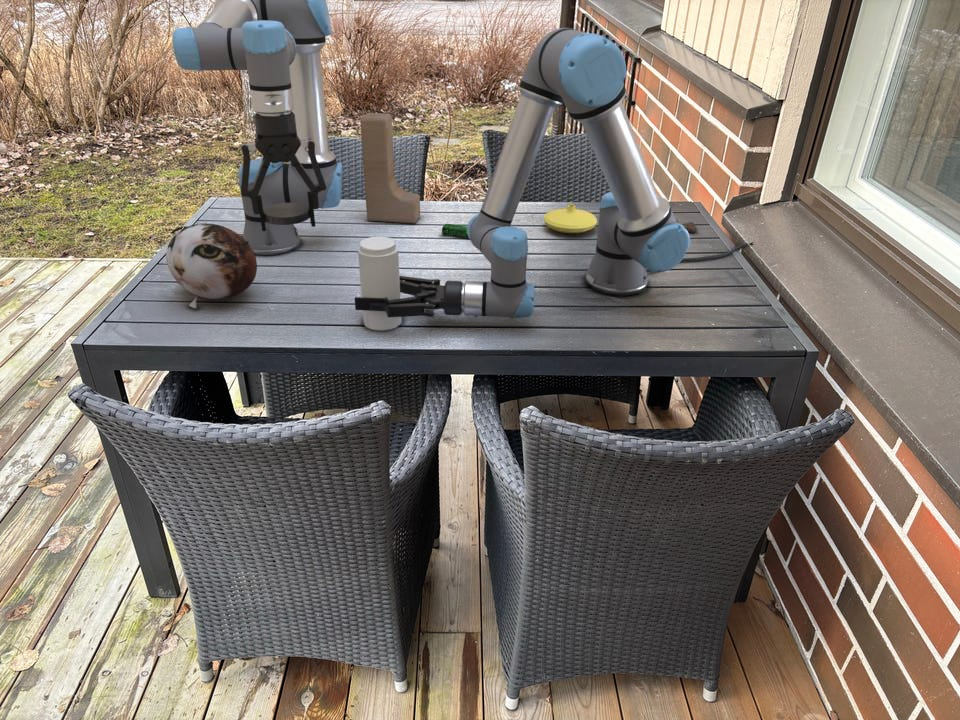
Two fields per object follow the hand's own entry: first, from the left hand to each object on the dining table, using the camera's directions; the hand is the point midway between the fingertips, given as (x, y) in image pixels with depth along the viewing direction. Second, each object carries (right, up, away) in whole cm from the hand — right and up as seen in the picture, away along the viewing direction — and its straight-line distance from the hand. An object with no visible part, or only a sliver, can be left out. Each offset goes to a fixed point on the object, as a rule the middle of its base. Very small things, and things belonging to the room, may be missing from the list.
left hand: (288, 226), depth 146 cm
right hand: (+13, -13, +11) cm, 21 cm away
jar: (+17, -19, +14) cm, 29 cm away
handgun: (+38, +10, +62) cm, 74 cm away
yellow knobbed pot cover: (+65, +11, +65) cm, 93 cm away
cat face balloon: (-23, -12, +24) cm, 35 cm away
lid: (0, +3, -2) cm, 3 cm away
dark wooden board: (+90, +11, +66) cm, 112 cm away
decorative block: (+13, +15, +71) cm, 74 cm away
